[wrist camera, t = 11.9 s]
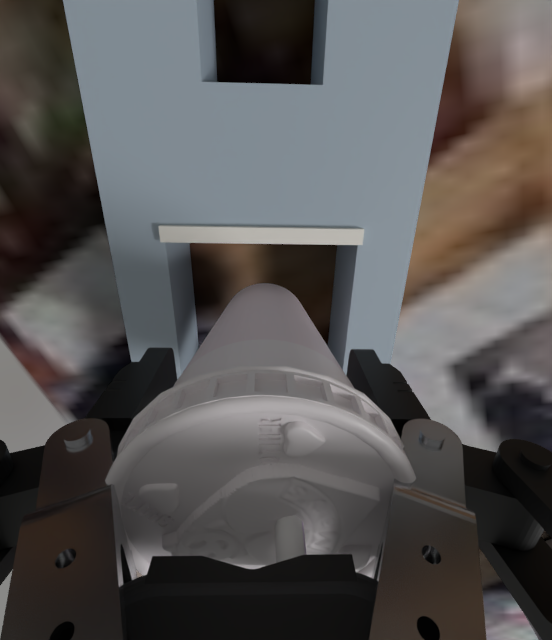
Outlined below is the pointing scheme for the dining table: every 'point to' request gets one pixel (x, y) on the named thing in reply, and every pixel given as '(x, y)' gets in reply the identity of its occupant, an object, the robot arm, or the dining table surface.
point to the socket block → (260, 154)
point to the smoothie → (259, 449)
